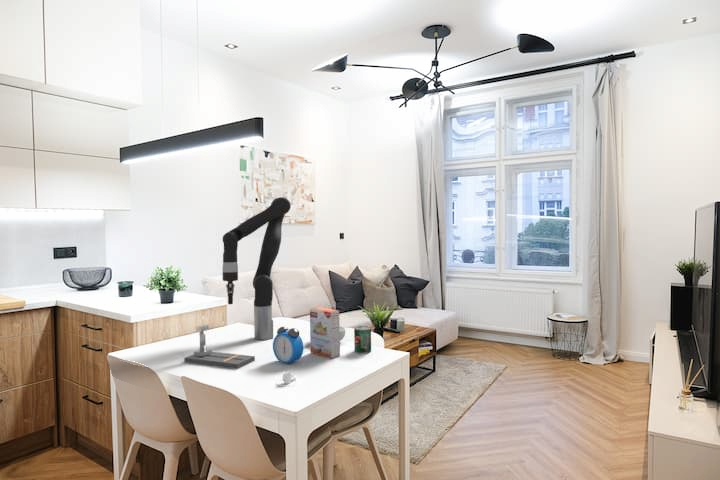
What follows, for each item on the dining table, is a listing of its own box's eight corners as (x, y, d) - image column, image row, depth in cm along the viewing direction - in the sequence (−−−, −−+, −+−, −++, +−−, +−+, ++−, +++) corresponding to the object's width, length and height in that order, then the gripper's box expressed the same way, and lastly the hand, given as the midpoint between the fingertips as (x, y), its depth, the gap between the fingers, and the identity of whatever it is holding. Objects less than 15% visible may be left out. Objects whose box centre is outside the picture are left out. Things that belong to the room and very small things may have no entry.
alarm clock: (272, 361, 198) (271, 327, 198) (282, 358, 203) (282, 324, 203) (294, 366, 191) (293, 330, 190) (304, 362, 196) (304, 328, 195)
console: (184, 362, 199) (184, 357, 198) (203, 354, 210) (203, 350, 210) (237, 368, 188) (237, 363, 188) (254, 360, 199) (254, 356, 199)
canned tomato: (374, 351, 213) (374, 327, 213) (362, 354, 207) (362, 330, 207) (362, 348, 219) (362, 325, 218) (350, 351, 213) (350, 327, 213)
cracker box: (309, 353, 210) (309, 308, 210) (319, 350, 215) (318, 306, 214) (330, 359, 201) (330, 311, 200) (340, 356, 205) (339, 309, 204)
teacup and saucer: (291, 378, 177) (291, 367, 177) (304, 383, 171) (303, 372, 171) (272, 383, 171) (272, 373, 171) (284, 389, 165) (284, 378, 165)
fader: (194, 355, 201) (193, 326, 200) (202, 352, 206) (202, 324, 205) (203, 356, 199) (202, 327, 198) (211, 353, 204) (211, 325, 204)
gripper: (238, 271, 226) (238, 304, 226) (237, 270, 240) (237, 301, 239) (222, 272, 224) (222, 305, 224) (222, 271, 238) (222, 302, 237)
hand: (230, 303), depth 232 cm, fingers open, 8 cm apart
